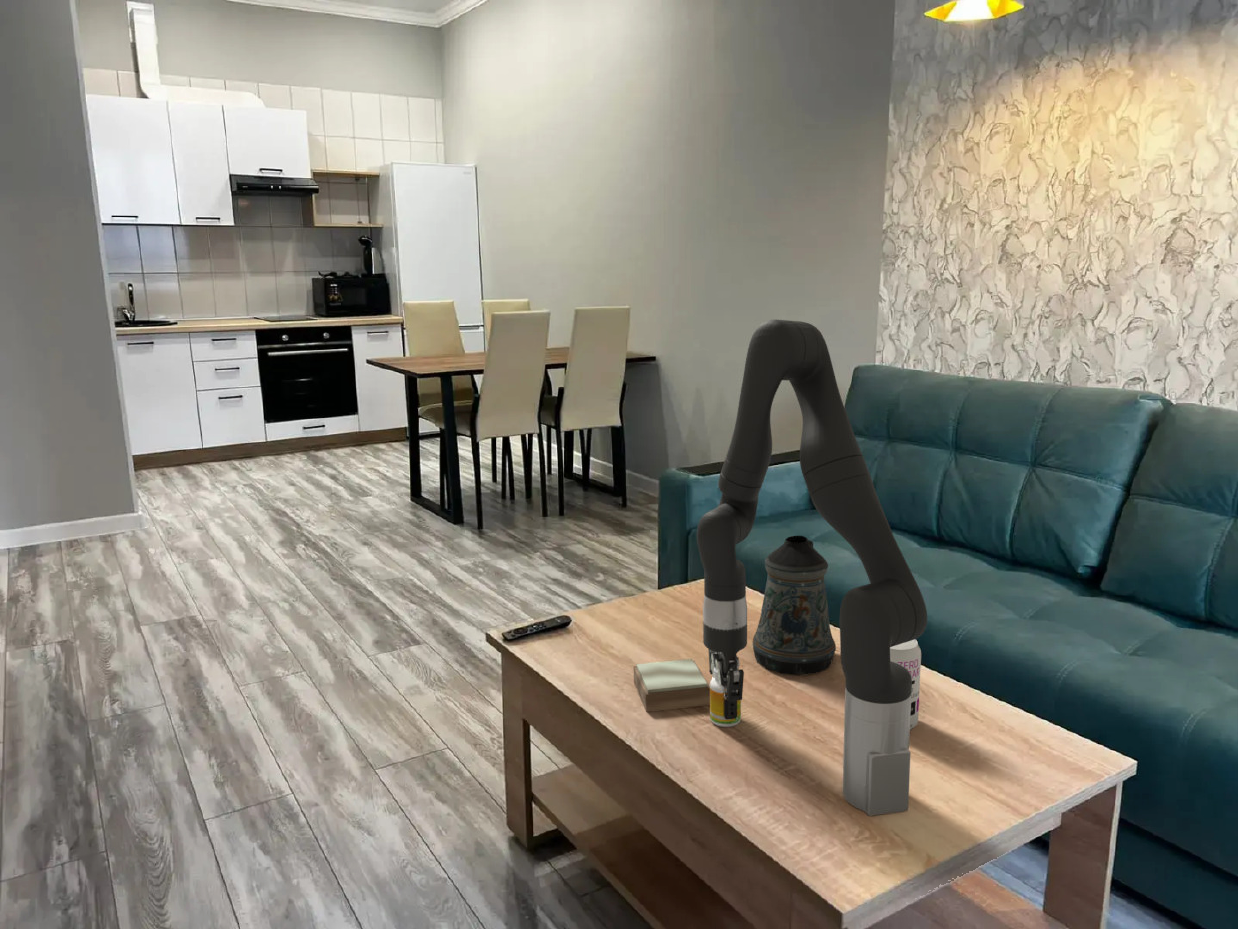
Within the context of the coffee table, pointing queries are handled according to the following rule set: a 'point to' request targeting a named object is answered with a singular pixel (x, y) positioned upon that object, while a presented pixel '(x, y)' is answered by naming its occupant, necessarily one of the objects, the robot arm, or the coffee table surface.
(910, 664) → the supplement can
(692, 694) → the plinth
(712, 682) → the supplement bottle
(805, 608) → the painted ceramic vase
